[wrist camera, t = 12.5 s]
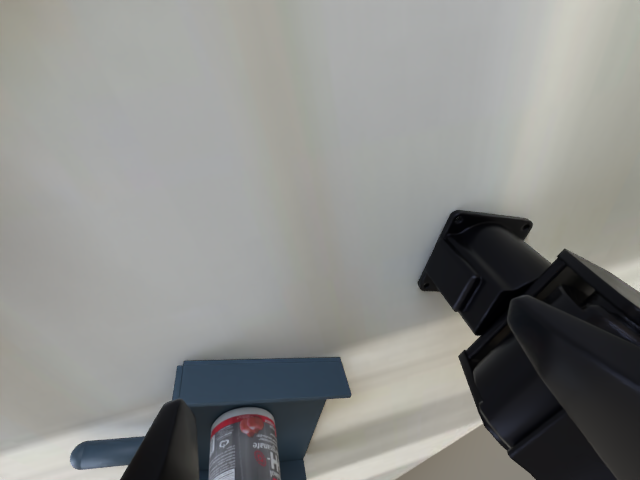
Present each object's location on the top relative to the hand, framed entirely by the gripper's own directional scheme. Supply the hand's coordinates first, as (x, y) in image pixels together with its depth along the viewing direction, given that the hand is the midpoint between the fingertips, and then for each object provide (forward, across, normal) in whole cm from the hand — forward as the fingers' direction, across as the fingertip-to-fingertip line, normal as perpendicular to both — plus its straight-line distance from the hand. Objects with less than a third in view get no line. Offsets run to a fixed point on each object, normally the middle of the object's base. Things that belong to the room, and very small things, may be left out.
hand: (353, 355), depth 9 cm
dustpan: (+12, +12, +20) cm, 26 cm away
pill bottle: (+12, +9, +21) cm, 26 cm away
